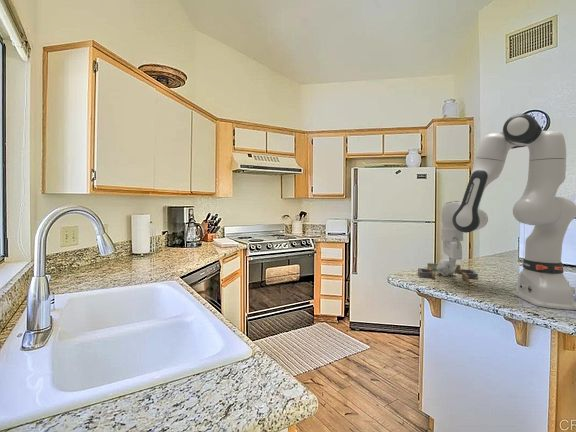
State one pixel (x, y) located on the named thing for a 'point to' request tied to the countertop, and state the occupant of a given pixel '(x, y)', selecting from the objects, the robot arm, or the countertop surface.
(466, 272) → the trap lane
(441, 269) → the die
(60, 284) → the countertop surface
